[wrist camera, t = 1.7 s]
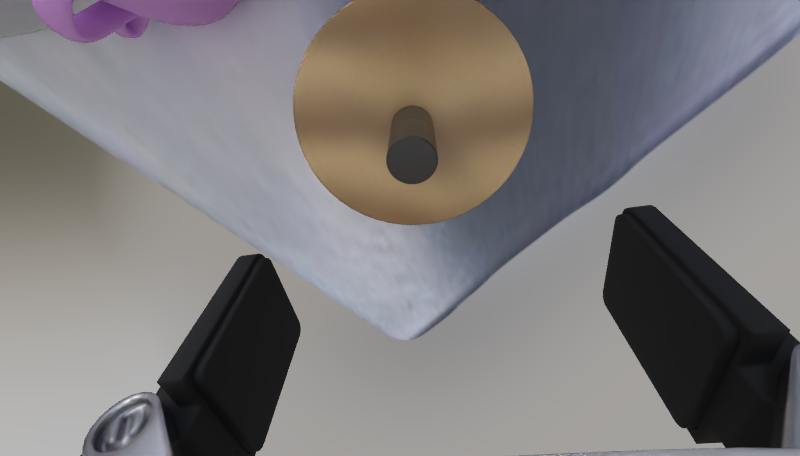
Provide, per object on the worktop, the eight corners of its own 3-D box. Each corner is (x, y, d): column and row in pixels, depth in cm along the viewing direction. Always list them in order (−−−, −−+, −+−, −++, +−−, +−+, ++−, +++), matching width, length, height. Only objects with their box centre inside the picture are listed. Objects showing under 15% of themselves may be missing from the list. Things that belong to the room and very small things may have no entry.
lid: (263, 11, 19) (208, 22, 14) (532, -43, 17) (581, -54, 12) (333, 227, 26) (313, 286, 21) (526, 202, 25) (555, 259, 20)
